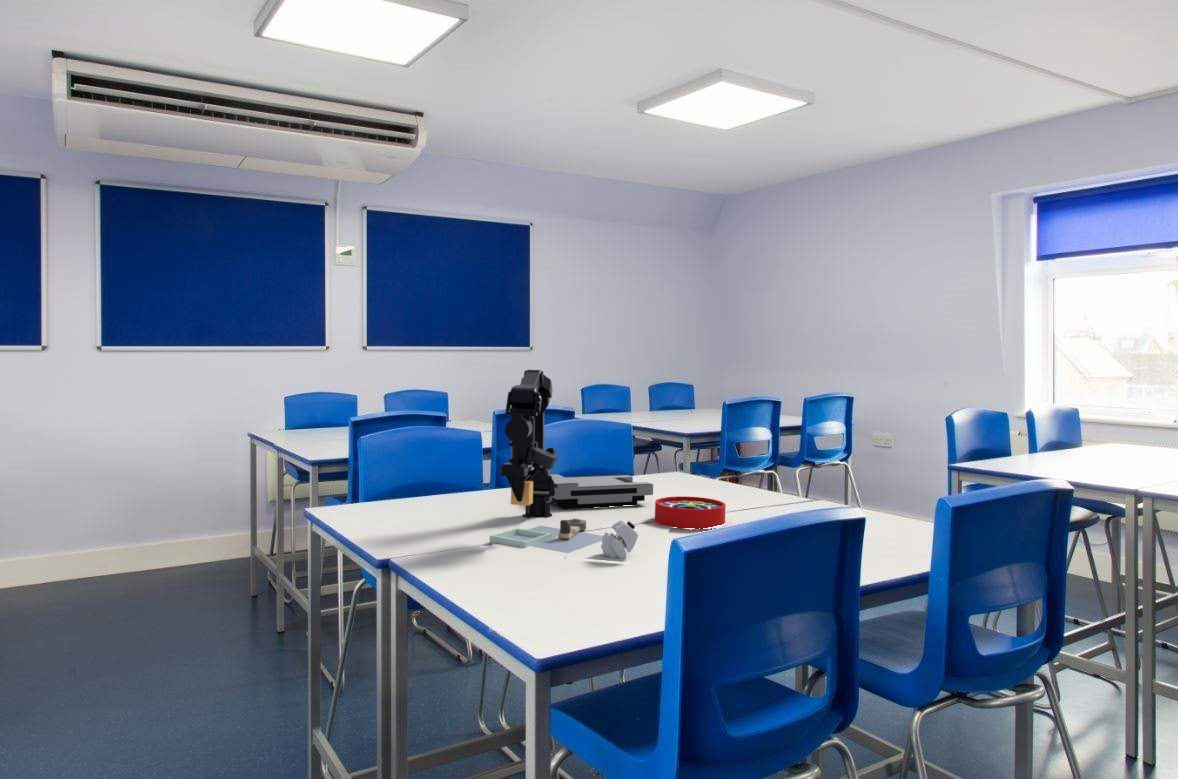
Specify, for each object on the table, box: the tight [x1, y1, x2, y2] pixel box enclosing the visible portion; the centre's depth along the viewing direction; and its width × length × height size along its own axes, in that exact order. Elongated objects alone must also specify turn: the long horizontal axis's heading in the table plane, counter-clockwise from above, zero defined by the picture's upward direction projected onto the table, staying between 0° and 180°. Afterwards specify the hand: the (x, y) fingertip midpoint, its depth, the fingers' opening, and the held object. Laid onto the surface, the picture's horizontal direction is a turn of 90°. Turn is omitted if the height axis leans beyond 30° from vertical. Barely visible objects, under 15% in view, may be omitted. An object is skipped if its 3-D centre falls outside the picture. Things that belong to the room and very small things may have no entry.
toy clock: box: [654, 495, 727, 530], centre depth 230 cm, size 20×6×20 cm
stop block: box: [510, 481, 533, 506], centre depth 200 cm, size 4×5×6 cm
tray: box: [489, 527, 552, 548], centre depth 201 cm, size 11×11×2 cm
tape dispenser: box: [600, 519, 639, 559], centre depth 188 cm, size 6×7×10 cm
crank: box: [558, 517, 587, 539], centre depth 209 cm, size 15×5×4 cm, turn 166°
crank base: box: [506, 525, 603, 554], centre depth 204 cm, size 22×20×1 cm
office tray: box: [547, 473, 654, 511], centre depth 257 cm, size 21×32×8 cm, turn 111°
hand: (521, 499), depth 200 cm, fingers closed on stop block, 4 cm apart
